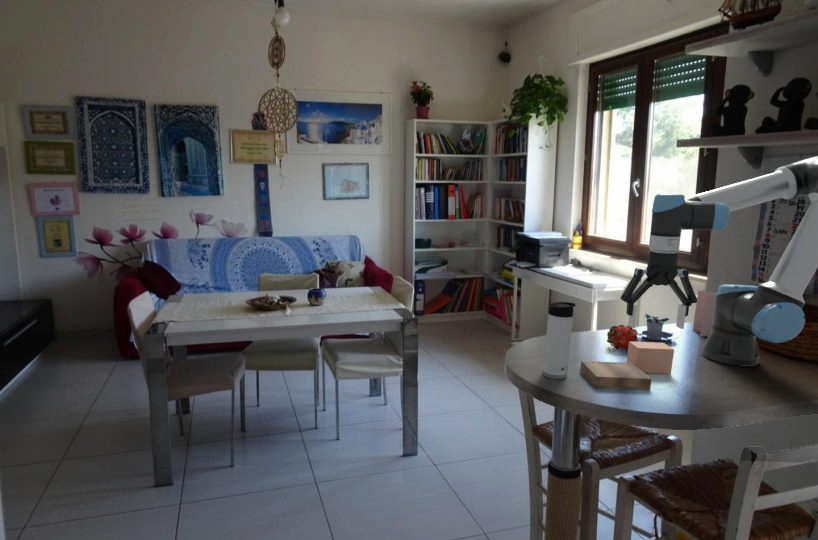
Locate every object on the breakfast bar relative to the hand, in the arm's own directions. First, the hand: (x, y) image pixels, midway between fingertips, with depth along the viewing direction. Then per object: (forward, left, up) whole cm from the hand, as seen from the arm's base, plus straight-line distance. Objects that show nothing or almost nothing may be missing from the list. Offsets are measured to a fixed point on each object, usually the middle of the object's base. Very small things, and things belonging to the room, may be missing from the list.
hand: (655, 327), depth 154 cm
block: (+1, 0, -12) cm, 12 cm away
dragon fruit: (0, -20, -13) cm, 23 cm away
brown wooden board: (+14, +9, -13) cm, 21 cm away
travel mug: (+29, +7, -13) cm, 32 cm away
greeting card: (-40, -40, -13) cm, 58 cm away
